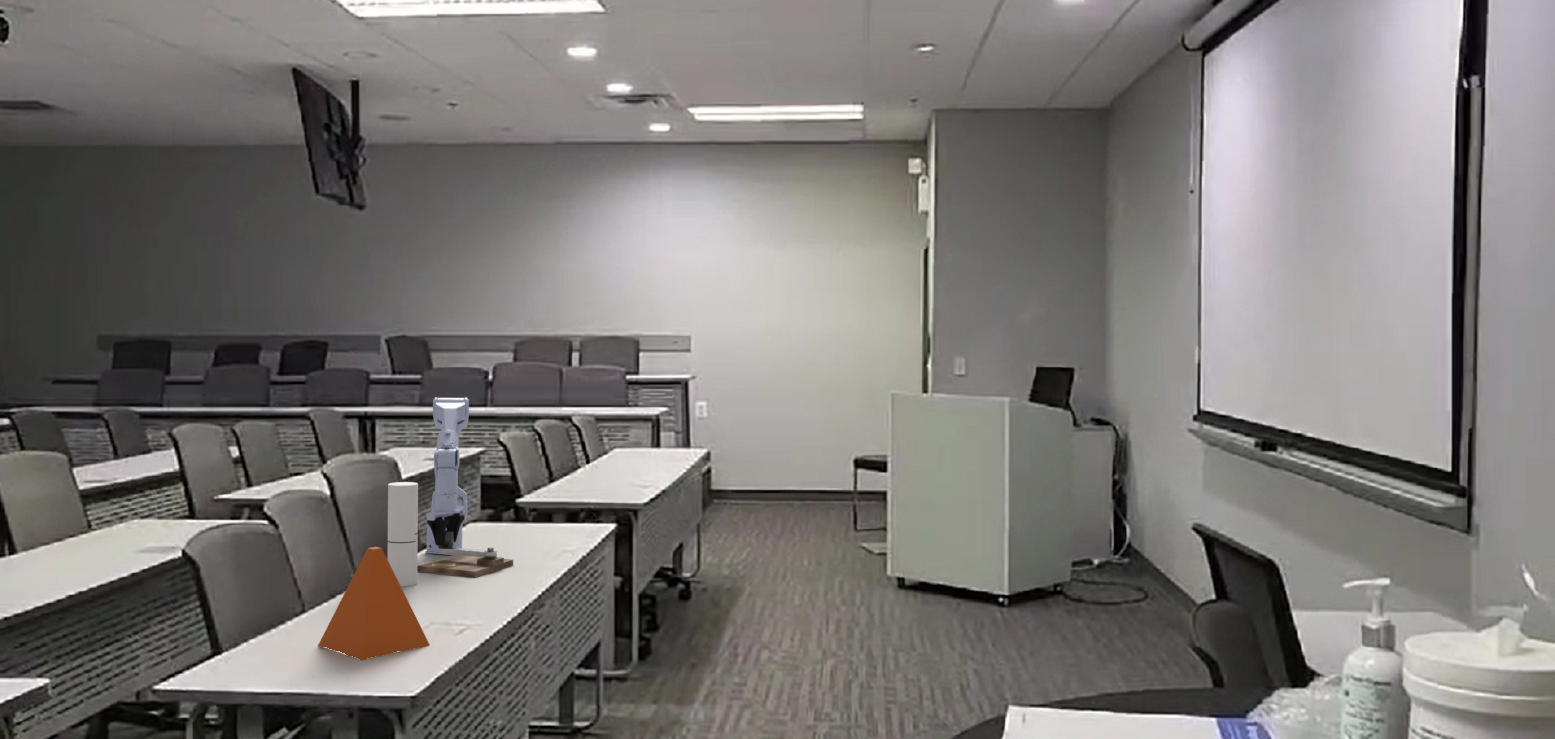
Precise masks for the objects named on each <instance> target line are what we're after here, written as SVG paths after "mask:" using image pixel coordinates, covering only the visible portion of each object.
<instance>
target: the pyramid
mask: <svg viewBox="0 0 1555 739" xmlns="http://www.w3.org/2000/svg"><path fill="white" fill-rule="evenodd" d="M429 645H430V646H431V644H430V642H429V641H428V638H427V636H426V634H425V632H424V630H423V628H422V626H421V624H420V622H419V620H418V619H417V615H416V614H415V613H414V610H413V608H412V606H411V604H410V602H409V600H408V598H407V596H406V594H405V592H404V590H403V588H402V586H400V584H399V582H398V580H397V578H396V576H395V574H394V572H393V570H392V568H391V566H390V564H389V562H388V557H387V556H386V554H385V553H384V549H383V548H382V547H378V546H374V547H373V546H372V547H368V548H367V549H366V550H365V552H364V555H363V556H362V559H361V560H360V562H359V564H358V566H357V568H356V570H355V573H353V576H352V578H351V580H350V582H349V584H348V586H347V588H346V590H345V592H344V594H343V595H342V598H341V599H340V602H339V603H338V606H337V607H336V610H335V611H334V613H333V615H332V617H331V619H330V621H329V623H328V625H327V626H326V629H325V631H324V633H323V635H322V637H321V638H320V640H319V643H318V644H317V647H319V646H321V647H320V648H322V647H327V648H329V649H332V650H335V651H340V652H342V653H345V654H346V655H348V656H347V657H349V656H353V657H356V658H358V659H360V660H359V661H365V660H364V659H366V660H368V659H367V658H370V659H372V658H371V657H375V656H379V657H383V656H382V655H384V656H387V655H386V654H388V655H391V654H390V653H393V652H397V651H402V652H405V651H406V650H407V651H410V649H411V650H414V649H413V648H416V649H419V648H418V647H420V648H423V647H424V648H425V647H429ZM393 654H394V653H393ZM346 655H345V656H346ZM375 658H376V657H375ZM358 659H357V660H358Z"/></svg>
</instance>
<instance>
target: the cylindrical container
mask: <svg viewBox="0 0 1555 739" xmlns="http://www.w3.org/2000/svg"><path fill="white" fill-rule="evenodd" d="M418 515H419V483H418V482H413V481H399V482H397V481H396V482H390V483H388V484H387V560H388V562H389V564H390V566H391V568H392V570H393V572H394V574H395V576H396V578H397V580H398V582H399V584H400V586H401V587H410V586H415V585H417V584H418V571H417V565H418V546H419V545H418V543H419V542H418V536H419V535H418V532H419V531H418V526H419V525H418V521H419V518H418V517H419V516H418Z"/></svg>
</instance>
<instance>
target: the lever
mask: <svg viewBox="0 0 1555 739" xmlns="http://www.w3.org/2000/svg"><path fill="white" fill-rule="evenodd" d="M453 542H454V531H452V530H446V531H445V540H444V545H443V546H440V545H438V548H439V549H440V553H442V554H441V555H443V554H453V555H464V556H474V557H485V558H496V557H498V556H497V554H498V553H497V550H494V549H495V548H494V547H487V549H477V548H475V549H474V548H465V547H462V548H455V547H453ZM453 555H452V556H453Z"/></svg>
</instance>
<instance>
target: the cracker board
mask: <svg viewBox="0 0 1555 739" xmlns="http://www.w3.org/2000/svg"><path fill="white" fill-rule="evenodd" d="M512 566H514V559H510V558H504V557H501V556H500V557H499V556H497V557H496V558H485V557H474V556H464V555H448V556H446V557H443V558H438V559H435V560H432V561H428V562H425V563H422V564H417V573H418V572H419V573H420V572H421V573H429V574H439V575H450V576H459V577H469V578H477V577H480V576H483V575H484V576H485V575H487V574H491V573H494V572H496V571H499V570H500V571H501V570H503V569H505V568H508V567H509V568H510V567H512Z"/></svg>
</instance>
